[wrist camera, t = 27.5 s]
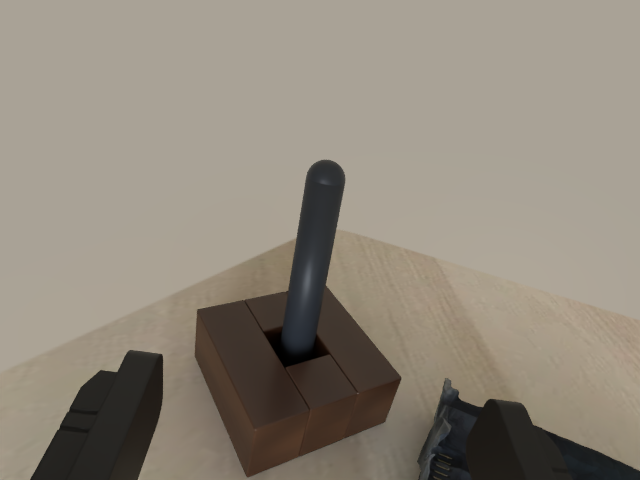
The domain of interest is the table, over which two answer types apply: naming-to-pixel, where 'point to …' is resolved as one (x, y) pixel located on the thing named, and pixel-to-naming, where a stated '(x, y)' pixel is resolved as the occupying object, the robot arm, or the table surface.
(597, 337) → the table surface
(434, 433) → the electronic device
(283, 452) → the pen stand
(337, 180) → the dark grey peg
